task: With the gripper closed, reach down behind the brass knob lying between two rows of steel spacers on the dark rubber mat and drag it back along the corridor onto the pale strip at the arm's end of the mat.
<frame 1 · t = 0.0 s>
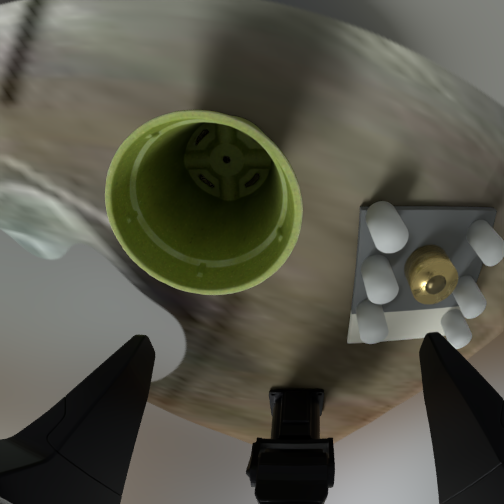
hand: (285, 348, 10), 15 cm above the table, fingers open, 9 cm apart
brass knob: (426, 265, 23), point 1 cm above the table, touching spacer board
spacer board: (419, 280, 25), on the table
plant pot: (229, 157, 22), on the table
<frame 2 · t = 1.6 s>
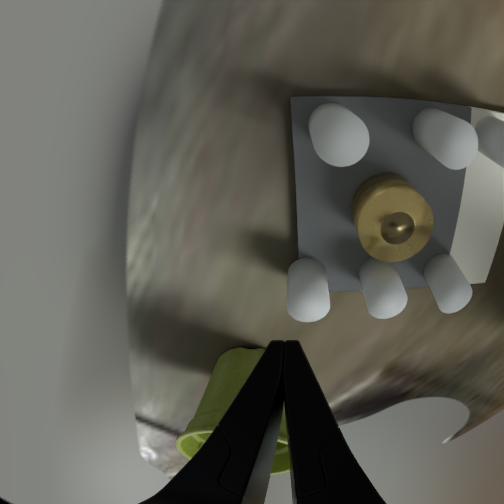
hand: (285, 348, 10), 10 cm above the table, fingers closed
brass knob: (385, 206, 17), point 1 cm above the table, touching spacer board
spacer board: (413, 201, 17), on the table
plant pot: (253, 365, 27), on the table
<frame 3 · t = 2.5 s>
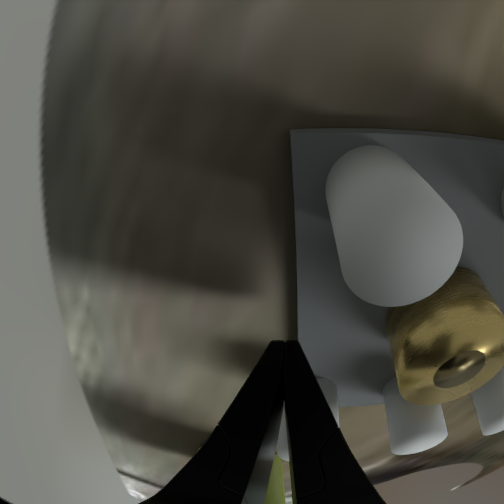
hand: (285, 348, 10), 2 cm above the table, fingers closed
brass knob: (438, 313, 10), point 1 cm above the table, touching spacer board
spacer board: (476, 297, 10), on the table
plant pot: (240, 453, 20), on the table
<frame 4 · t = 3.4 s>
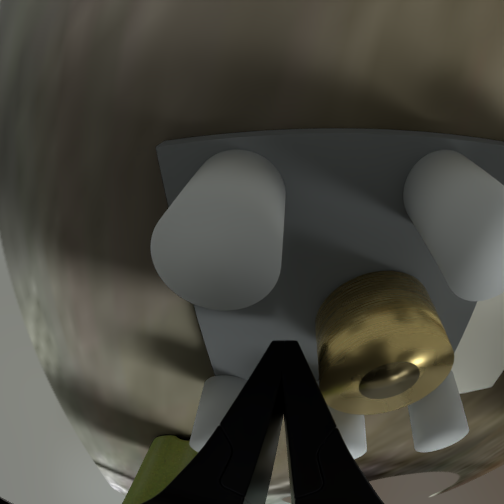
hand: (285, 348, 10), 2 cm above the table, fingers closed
brass knob: (374, 319, 10), point 1 cm above the table, touching gripper
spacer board: (398, 305, 10), on the table
plant pot: (194, 448, 20), on the table
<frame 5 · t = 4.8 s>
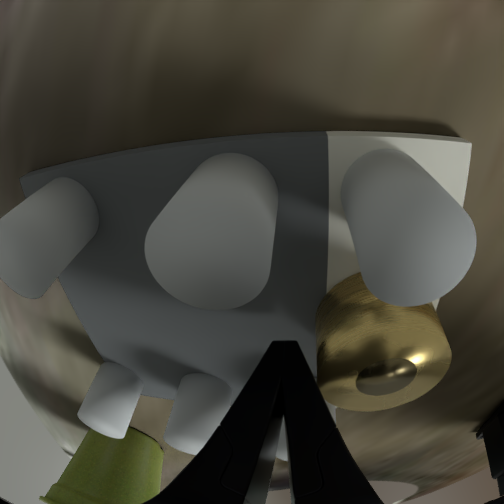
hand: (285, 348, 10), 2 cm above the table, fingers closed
brass knob: (374, 316, 10), point 1 cm above the table, touching gripper, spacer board
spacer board: (238, 308, 11), on the table
plant pot: (129, 435, 21), on the table
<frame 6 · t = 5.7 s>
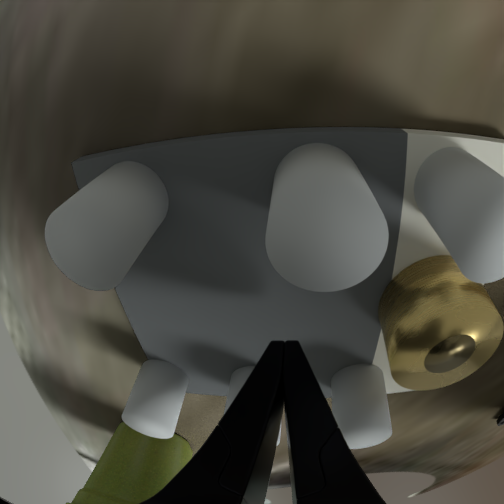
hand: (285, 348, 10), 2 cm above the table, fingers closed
brass knob: (429, 301, 10), point 1 cm above the table, touching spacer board
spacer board: (302, 297, 12), on the table
plant pot: (156, 435, 21), on the table
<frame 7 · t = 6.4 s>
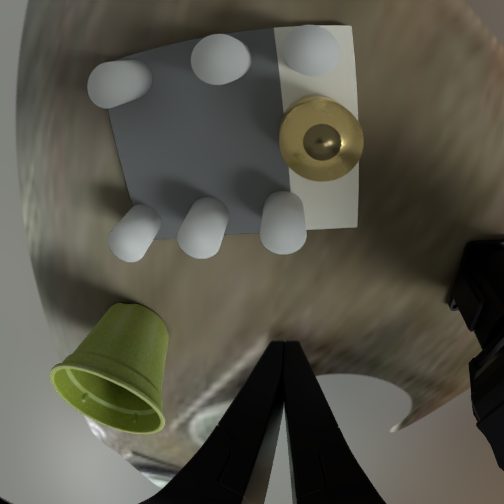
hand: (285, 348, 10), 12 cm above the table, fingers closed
brass knob: (316, 130, 16), point 1 cm above the table, touching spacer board
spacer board: (232, 137, 17), on the table
plant pot: (138, 323, 27), on the table
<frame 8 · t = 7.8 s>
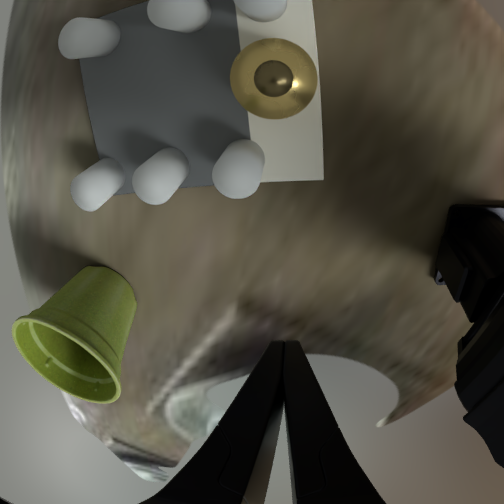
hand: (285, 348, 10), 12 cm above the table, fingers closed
brass knob: (275, 76, 15), point 1 cm above the table, touching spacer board
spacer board: (193, 87, 16), on the table
plant pot: (108, 290, 26), on the table
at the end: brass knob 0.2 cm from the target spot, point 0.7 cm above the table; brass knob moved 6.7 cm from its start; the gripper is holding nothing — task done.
